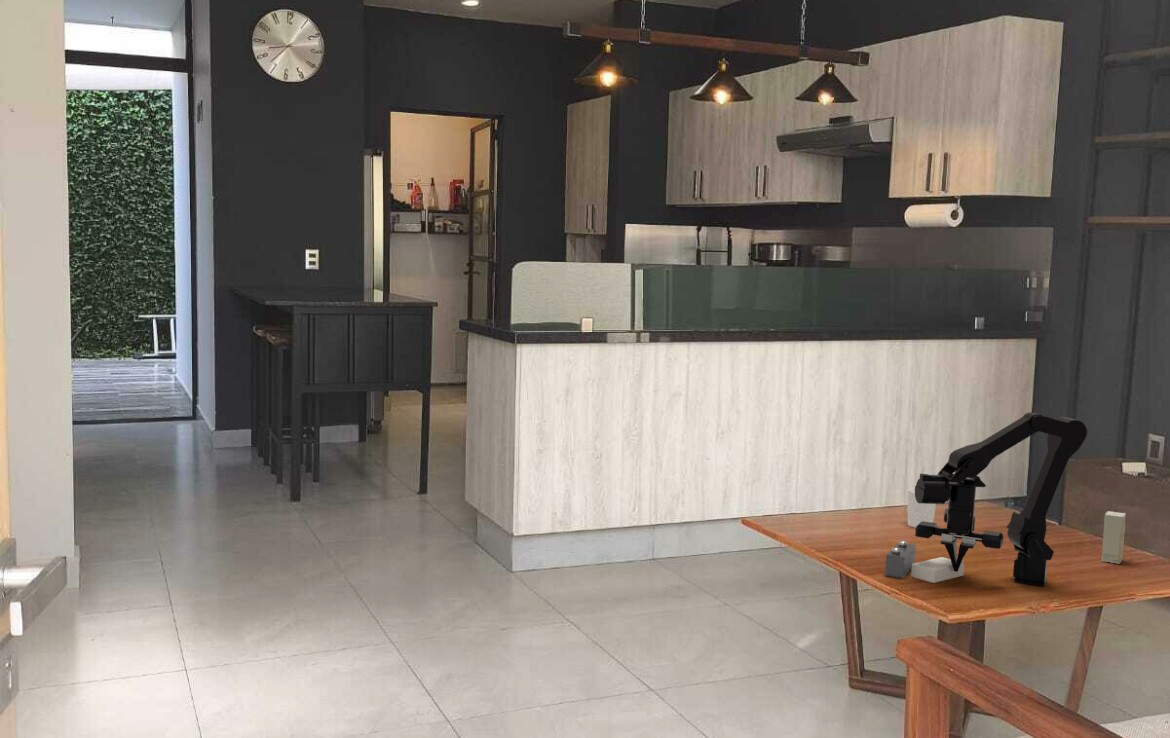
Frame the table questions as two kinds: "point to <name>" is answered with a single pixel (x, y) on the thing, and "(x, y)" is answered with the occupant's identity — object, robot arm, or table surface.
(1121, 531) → the skincare box
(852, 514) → the table surface
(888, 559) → the stop bar
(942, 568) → the white rectangular block
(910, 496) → the white cup
